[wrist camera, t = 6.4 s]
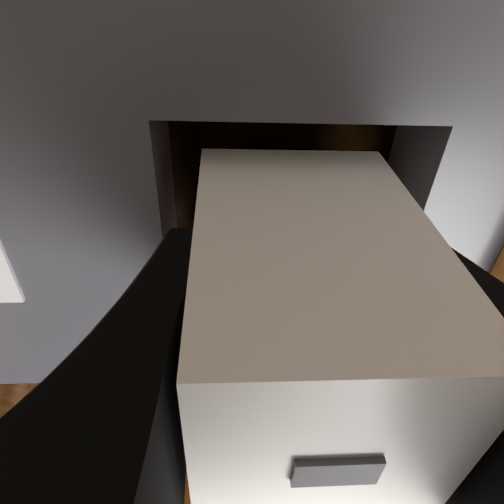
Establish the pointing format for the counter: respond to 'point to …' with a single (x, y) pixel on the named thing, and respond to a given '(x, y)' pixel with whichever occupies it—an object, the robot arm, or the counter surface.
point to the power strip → (218, 110)
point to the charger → (329, 338)
